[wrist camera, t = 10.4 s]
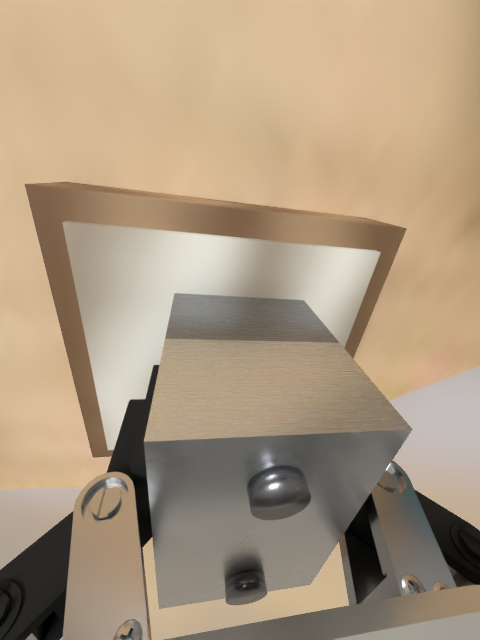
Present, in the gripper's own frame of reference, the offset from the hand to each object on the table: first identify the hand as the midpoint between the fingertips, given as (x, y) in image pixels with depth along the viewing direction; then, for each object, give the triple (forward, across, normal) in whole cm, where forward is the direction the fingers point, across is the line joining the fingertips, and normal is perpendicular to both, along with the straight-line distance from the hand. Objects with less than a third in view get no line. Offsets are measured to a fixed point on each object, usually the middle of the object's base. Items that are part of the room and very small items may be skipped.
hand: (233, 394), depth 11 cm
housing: (+1, 0, 0) cm, 1 cm away
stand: (+5, 0, 0) cm, 5 cm away
